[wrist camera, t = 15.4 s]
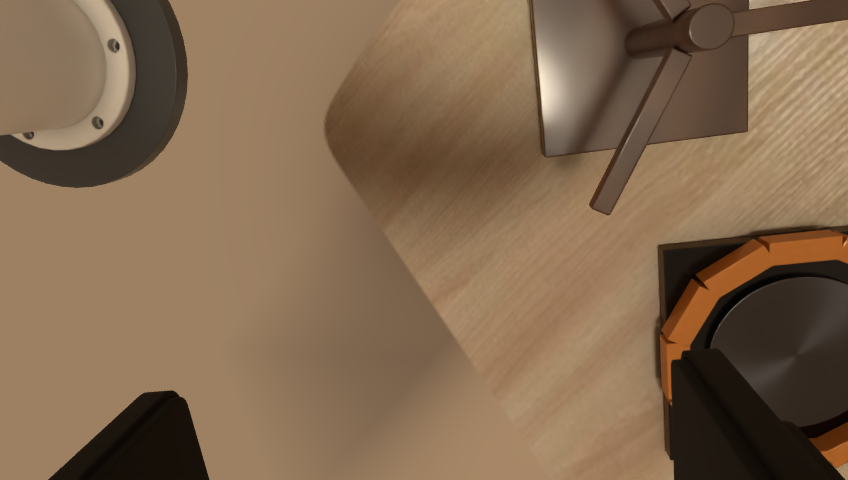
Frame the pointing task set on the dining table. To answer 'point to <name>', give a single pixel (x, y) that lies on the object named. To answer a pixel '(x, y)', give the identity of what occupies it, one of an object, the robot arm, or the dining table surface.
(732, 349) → the hob
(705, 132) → the hanger stand
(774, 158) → the dining table surface
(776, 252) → the ring
